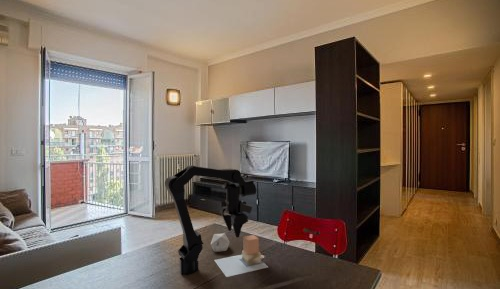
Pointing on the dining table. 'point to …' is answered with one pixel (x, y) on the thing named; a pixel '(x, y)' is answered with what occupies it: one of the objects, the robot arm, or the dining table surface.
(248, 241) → the terracotta block
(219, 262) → the blueprint board
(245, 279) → the dining table surface
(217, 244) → the die
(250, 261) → the birch base block
